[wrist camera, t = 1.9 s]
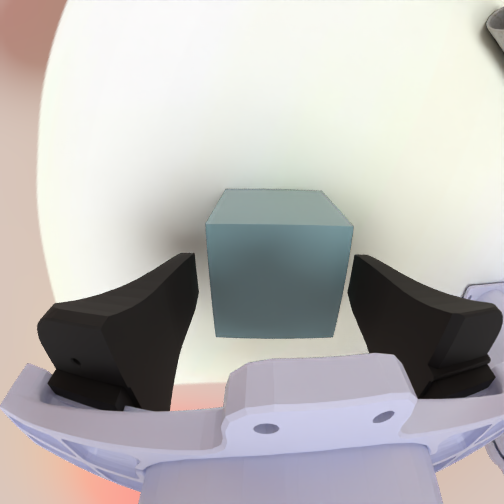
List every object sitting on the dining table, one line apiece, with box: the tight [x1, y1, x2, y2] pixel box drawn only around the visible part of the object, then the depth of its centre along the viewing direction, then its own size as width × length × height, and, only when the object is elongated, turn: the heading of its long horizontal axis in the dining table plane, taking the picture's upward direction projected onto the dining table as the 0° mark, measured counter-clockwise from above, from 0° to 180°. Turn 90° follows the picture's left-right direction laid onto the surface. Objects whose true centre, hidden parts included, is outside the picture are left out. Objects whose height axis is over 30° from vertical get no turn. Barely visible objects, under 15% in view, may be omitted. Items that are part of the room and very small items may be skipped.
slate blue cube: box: [205, 189, 354, 339], centre depth 14 cm, size 6×6×6 cm
